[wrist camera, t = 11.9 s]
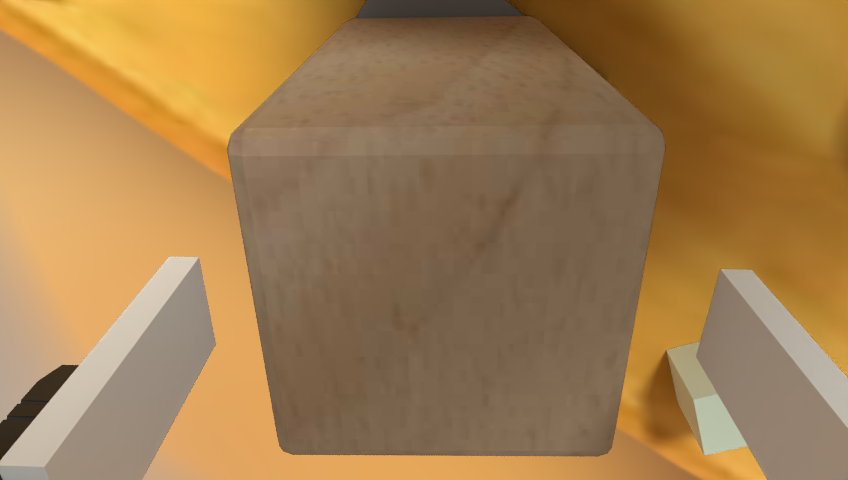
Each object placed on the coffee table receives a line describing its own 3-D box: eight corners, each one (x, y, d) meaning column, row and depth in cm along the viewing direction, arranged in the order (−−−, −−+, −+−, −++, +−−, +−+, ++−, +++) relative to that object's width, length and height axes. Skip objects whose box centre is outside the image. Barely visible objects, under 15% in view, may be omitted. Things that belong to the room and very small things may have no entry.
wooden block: (357, 195, 35) (275, 461, 18) (344, 17, 31) (215, 134, 13) (526, 194, 35) (615, 464, 17) (539, 14, 31) (676, 130, 13)
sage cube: (665, 349, 41) (693, 399, 37) (741, 329, 40) (778, 379, 36) (677, 401, 43) (704, 455, 39) (748, 384, 42) (785, 437, 38)
